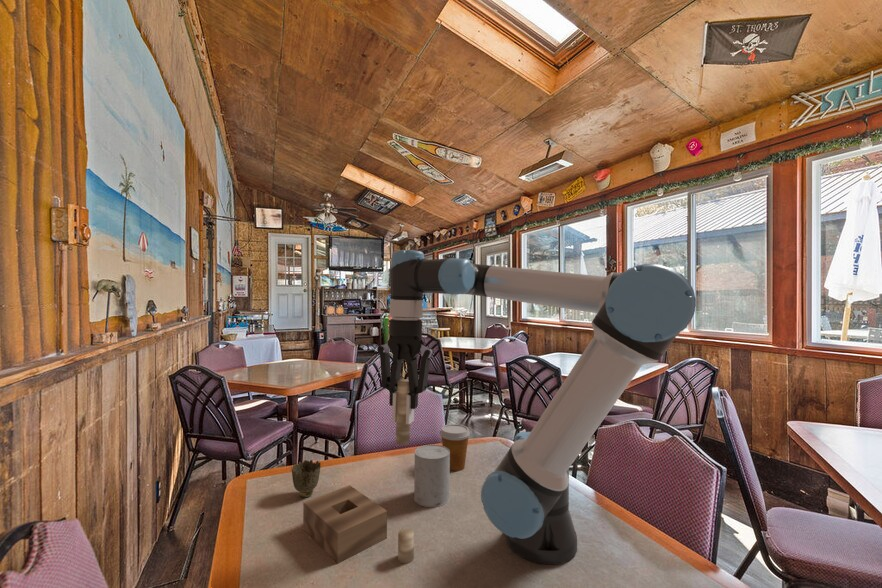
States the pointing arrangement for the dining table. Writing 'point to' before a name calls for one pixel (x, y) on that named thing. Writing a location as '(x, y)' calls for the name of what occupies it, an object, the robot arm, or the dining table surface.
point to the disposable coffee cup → (455, 444)
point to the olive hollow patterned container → (306, 477)
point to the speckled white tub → (432, 475)
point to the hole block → (344, 522)
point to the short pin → (405, 546)
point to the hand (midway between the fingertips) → (403, 421)
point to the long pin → (402, 413)
